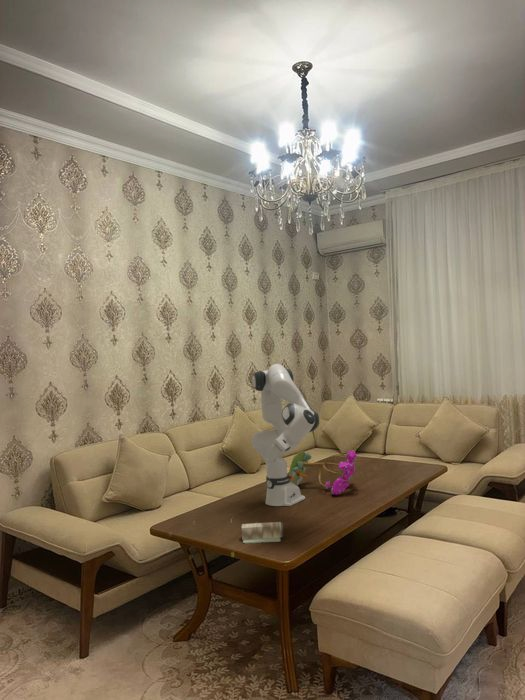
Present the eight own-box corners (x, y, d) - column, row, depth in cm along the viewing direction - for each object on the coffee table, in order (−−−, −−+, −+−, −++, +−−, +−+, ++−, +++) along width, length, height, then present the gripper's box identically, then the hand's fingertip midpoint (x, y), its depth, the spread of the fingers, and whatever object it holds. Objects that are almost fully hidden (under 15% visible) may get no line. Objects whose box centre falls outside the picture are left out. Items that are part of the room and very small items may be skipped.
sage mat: (279, 531, 236) (279, 530, 236) (280, 541, 224) (280, 540, 224) (244, 533, 236) (243, 532, 236) (243, 543, 224) (243, 542, 224)
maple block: (282, 521, 232) (241, 524, 232) (282, 525, 227) (241, 528, 227) (283, 533, 232) (242, 535, 232) (283, 537, 227) (242, 539, 227)
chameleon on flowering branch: (305, 433, 315) (362, 443, 300) (305, 475, 323) (361, 487, 308) (285, 456, 289) (346, 468, 274) (286, 501, 297) (346, 515, 283)
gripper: (294, 430, 245) (277, 450, 251) (273, 440, 228) (256, 461, 233) (303, 440, 243) (286, 459, 249) (283, 450, 226) (265, 471, 231)
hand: (271, 460), depth 241 cm, fingers closed
